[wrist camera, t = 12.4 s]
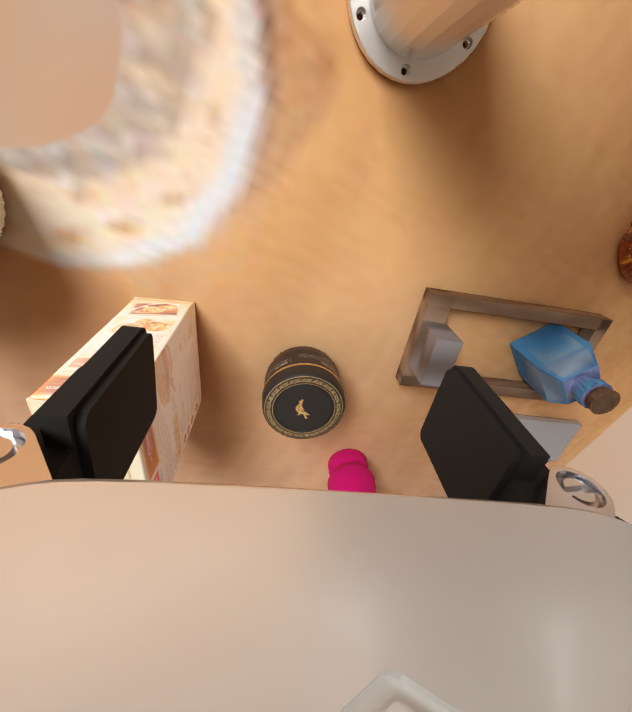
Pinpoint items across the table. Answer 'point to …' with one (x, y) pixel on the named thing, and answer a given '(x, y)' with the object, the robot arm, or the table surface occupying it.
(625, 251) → the pretzel
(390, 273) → the table surface
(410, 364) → the rectangular wooden frame
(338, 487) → the pepper mill
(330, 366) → the jar
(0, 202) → the canister
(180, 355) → the coffeecake box
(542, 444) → the grey l-shaped piece
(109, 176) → the table surface
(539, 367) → the perfume bottle
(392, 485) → the table surface
